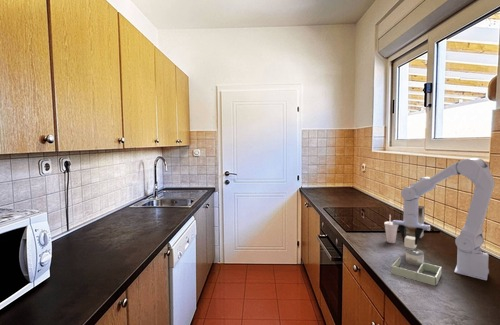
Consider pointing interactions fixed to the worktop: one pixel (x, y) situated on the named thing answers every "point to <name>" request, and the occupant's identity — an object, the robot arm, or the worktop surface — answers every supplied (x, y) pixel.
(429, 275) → the pad
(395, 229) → the smoothie
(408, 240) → the cube
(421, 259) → the tin
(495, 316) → the worktop surface
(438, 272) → the caddy
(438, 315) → the worktop surface
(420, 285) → the worktop surface
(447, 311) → the worktop surface
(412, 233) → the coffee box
